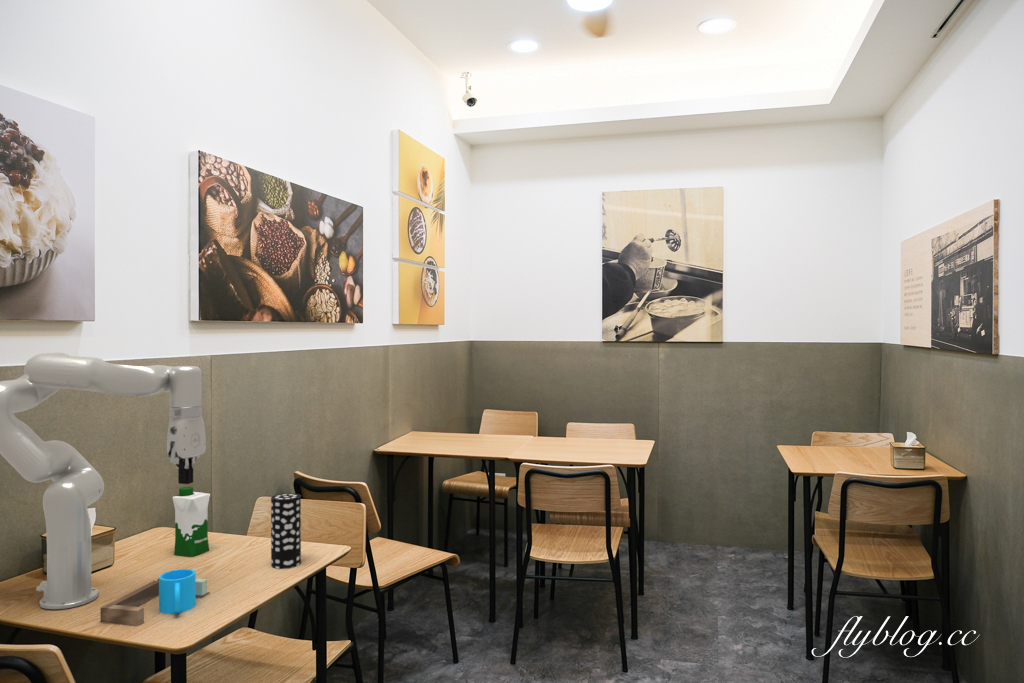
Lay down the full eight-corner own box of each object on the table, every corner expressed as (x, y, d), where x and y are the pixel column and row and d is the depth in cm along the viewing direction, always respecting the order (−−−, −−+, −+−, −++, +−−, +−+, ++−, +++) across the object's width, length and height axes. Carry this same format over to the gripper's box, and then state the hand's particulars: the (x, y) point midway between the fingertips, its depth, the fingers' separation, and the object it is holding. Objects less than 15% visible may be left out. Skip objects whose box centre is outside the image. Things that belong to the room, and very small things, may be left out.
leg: (163, 592, 179) (163, 578, 179) (168, 589, 181) (168, 576, 181) (202, 595, 176) (202, 582, 176) (207, 592, 178) (207, 579, 178)
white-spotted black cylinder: (265, 567, 200) (265, 498, 199) (282, 558, 208) (282, 492, 207) (289, 570, 197) (289, 500, 197) (306, 561, 205) (306, 494, 205)
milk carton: (191, 547, 218) (191, 484, 218) (214, 550, 215) (213, 486, 215) (169, 555, 210) (169, 490, 210) (192, 558, 207) (192, 492, 207)
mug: (159, 604, 172) (159, 571, 172) (195, 598, 176) (195, 567, 176) (158, 622, 162) (158, 587, 161) (196, 616, 165) (196, 582, 165)
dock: (100, 622, 161) (100, 607, 161) (162, 589, 182) (162, 576, 182) (152, 627, 159) (152, 612, 159) (209, 593, 180) (209, 579, 180)
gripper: (179, 416, 171) (179, 490, 171) (216, 410, 185) (216, 478, 186) (152, 416, 172) (153, 488, 172) (191, 409, 187) (191, 476, 187)
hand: (185, 483), depth 179 cm, fingers closed
